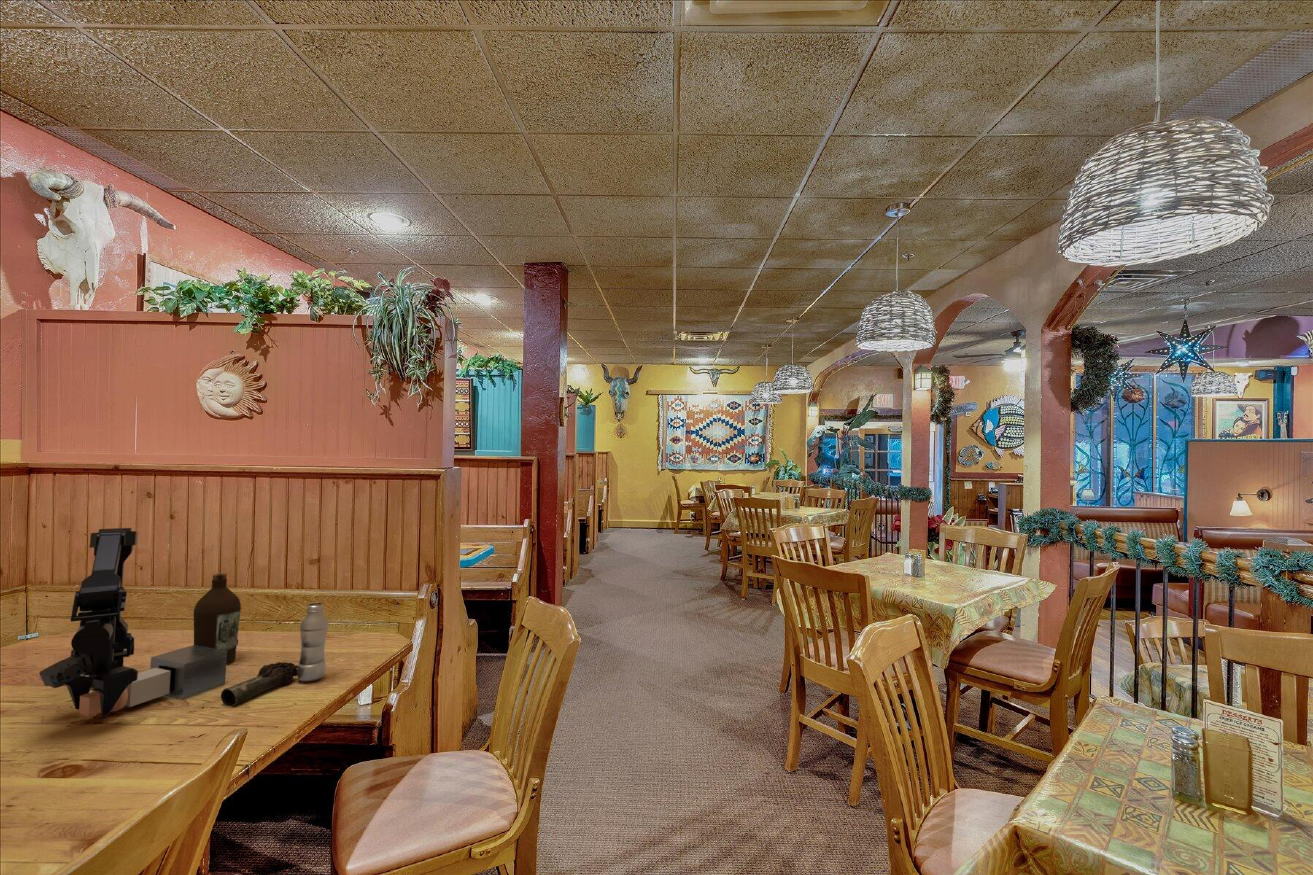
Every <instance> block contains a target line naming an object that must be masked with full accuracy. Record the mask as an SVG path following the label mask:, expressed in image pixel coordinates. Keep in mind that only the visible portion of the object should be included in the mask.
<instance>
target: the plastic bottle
mask: <svg viewBox="0 0 1313 875" xmlns="http://www.w3.org/2000/svg"><path fill="white" fill-rule="evenodd" d="M323 612H324V603H323V602H312V603H308V604H307V606H306V613H307V614H306V615H305V617H303V619H302V621H301V622H300V625H299V627H300V628H299V630H300V632H299V633H300V639H301V640H300V642H301V643H300V645H301V646H300V648H301V649H300V656H299V661H298V662H299V663H298V665H297V666H298V668H297V676H296V677H297V679H298V680H299V681H300V682H313V681H317V680H320V679H322V678H323V677H324V676H325V674H326V671H327V670H326V669H327V665H326V659H325V658H326V654H325V646H326V644H325V643H326V638H327V632H328V627H329V619H328V618H327V616H326V615H325V614H324V613H323Z"/></svg>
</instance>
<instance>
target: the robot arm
mask: <svg viewBox="0 0 1313 875" xmlns="http://www.w3.org/2000/svg"><path fill="white" fill-rule="evenodd" d="M132 530H133V529H132V527H120V528H119V527H118V528H116V527H115V528H99V529H98V531H97V532H92V533H91V532H90V535H89V536H90V539H89V549H90V548H91V549H93V556H94V560H93V565H92V569H91V573H90V575H88V577H86V578H84V579H83V580H82V581H81V584H80V587H79V590H75V594H74V598H73V605H72V610H71V615H70V622H79V627H78V629H77V631H76V632H75V634H74V635H73V636H72V638H71V642H70V646H71V647H72V649H71V650H70V656H68V657H66V658H64V659H62V660H61V659H60V660H58V661H57V662H56V663H54V664H52V665H50V666H48V667H46V668H44V669H42V670H41V671H39V676H40V678H41V681H42V683H43V685H44V686H45V687H51V688H53V689H57V688H61V687H62V686H65V687H66V688H67V690H68V693H69V695H70V699H71V701H72V704H73V706H74V709H75V710H76V711H77V710H78V711H79V705H80V696H81V695H84V694H87V693H90V691H91V690H92V692H94V691H95V692H97V693H99V695H100V706H101V712H100V714H101V716H102V717H106V716H108V715H109V714H110V713H111V712H112V711H111V710H112V709H113V707H114V705H115V704H116V702H117V701H118V699H119V698H120V696H121V695H122V693H123V692H124V690H125V689H126V688H127V686H128V685H129V684H131V683H132V682H133V681H136V680H137V677H138V673H139V671H138V670H137V669H135V668H133V667H129V666H124V660H125V658H130V656H133V655H134V654H135V637H133V635H132V632H129V624H128V622H126V621H125V619H124V618H123V617H122V612H125V609H126V603H127V594H128V591H126V590H125V587H124V573H125V572H124V571H125V562H126V561H127V559H128V558H129V557H130V556H131V554H132V553H133V550H134V546H137V544H138V531H137V530H133V531H132ZM78 611H79V612H78ZM92 687H93V688H92ZM91 688H92V689H91Z"/></svg>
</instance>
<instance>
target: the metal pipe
mask: <svg viewBox="0 0 1313 875" xmlns="http://www.w3.org/2000/svg"><path fill="white" fill-rule="evenodd" d="M297 668H298V665H297V664H295V663H293V662H284V661H283V662H280V661H278V662H276V663H272V662H271V663H270V664H267V665H266V664H264V665H263V666H262V667H261V668H260V669H259V670H258V674H257V676H255V677H252V678H250V679H247V680H245V681H242V682H240V683H237V684H234V685H232V686H229V687H226V688H224V689H223V690H222V691H221V693H220V701H221V702H222V703H223V705H224V706H227V707H231V708H233V707H235V706H237V705H239V704H241V703H242V702H245V701H247V700H249V699H252V698H253V697H255V696H257V695H259V694H261V693H262V692H265V691H267V690H269V689H272V688H277V687H279V686H283V685H284V686H285V685H288V684H289V685H290V684H291V681H292V680H294V677H297Z"/></svg>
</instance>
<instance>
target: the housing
mask: <svg viewBox="0 0 1313 875" xmlns="http://www.w3.org/2000/svg"><path fill="white" fill-rule="evenodd" d="M226 661H227V651H225V650H220V649H214V648H209V647H203V646H198V645H194V644H192V645H190V646H186V647H182V648H179V649H176V650H171V651H168V652H165V653H161V654H158V655H154V656H151V657H150V668H149V669H153V668H159V669H164V670H169V671H171V673H170V689H169V694H166V695H164V696H165V697H170V698H173V699H180V700H186V699H188V698H191V697H193V696H197V695H199V694H202V693H204V692H207V691H210V690H212V689H215V688H218V687H221V686H223V685H226V674H227V673H226V672H227V665H226Z"/></svg>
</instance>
